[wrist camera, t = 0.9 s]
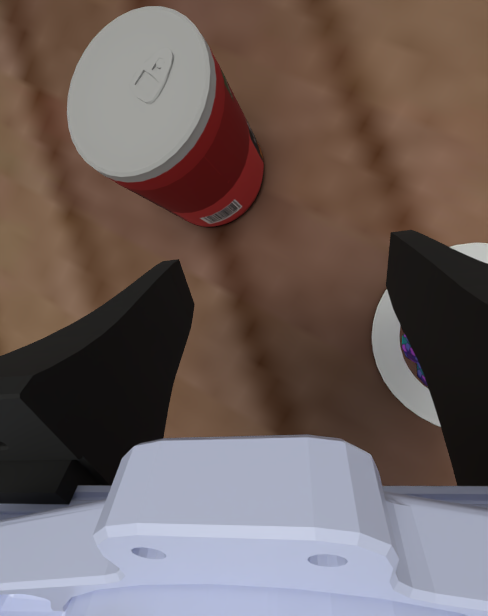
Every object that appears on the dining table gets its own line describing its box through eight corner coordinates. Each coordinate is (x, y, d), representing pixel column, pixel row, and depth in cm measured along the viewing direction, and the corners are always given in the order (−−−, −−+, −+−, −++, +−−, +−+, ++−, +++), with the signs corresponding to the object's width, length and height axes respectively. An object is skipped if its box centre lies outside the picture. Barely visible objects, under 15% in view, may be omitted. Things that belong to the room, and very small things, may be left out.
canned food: (284, 146, 24) (240, 24, 14) (237, 246, 25) (163, 203, 15) (198, 114, 26) (102, -15, 16) (158, 208, 27) (43, 146, 17)
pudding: (560, 455, 20) (634, 505, 15) (355, 402, 23) (359, 429, 18) (608, 259, 19) (702, 243, 14) (389, 233, 23) (403, 213, 18)
